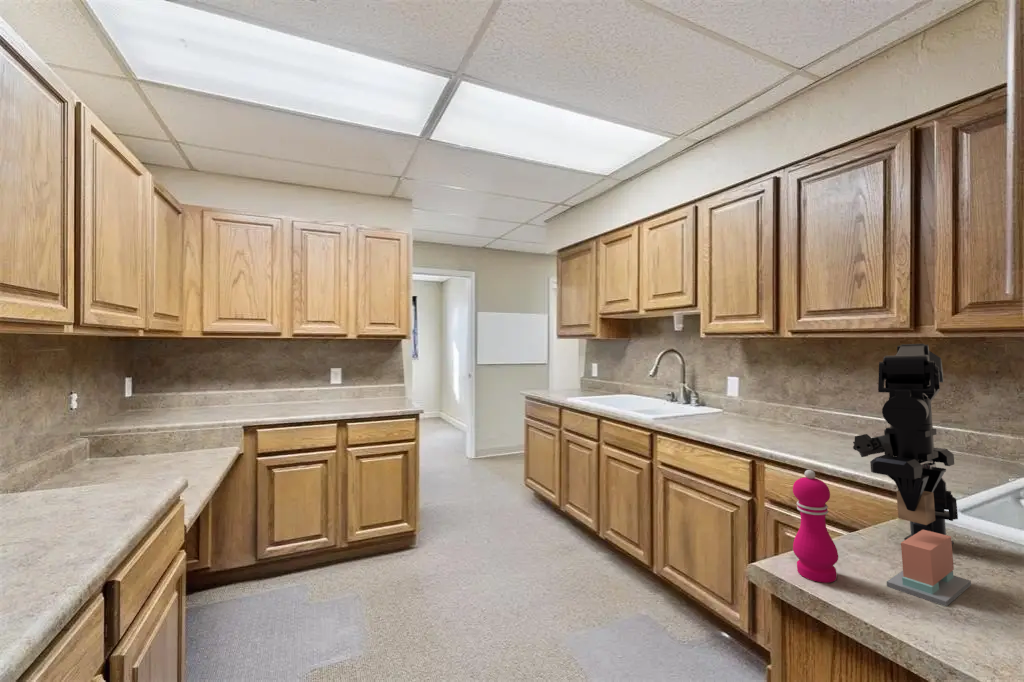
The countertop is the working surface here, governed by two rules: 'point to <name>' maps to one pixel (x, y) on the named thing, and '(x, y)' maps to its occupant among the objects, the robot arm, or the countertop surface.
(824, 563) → the pepper mill
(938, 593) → the build plate
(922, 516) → the block
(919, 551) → the bar
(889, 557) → the countertop surface
